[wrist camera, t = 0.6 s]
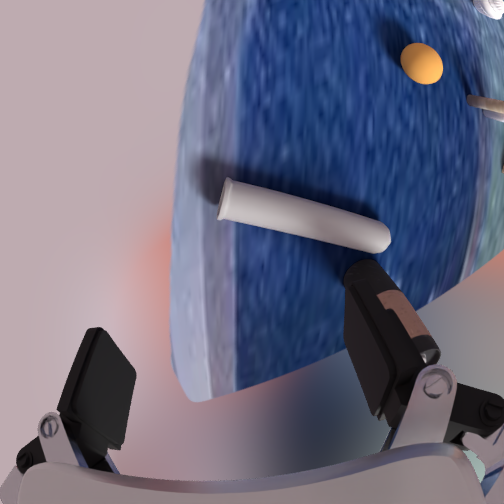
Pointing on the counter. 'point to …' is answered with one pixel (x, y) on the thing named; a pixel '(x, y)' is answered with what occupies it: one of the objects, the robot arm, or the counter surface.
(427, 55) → the ball
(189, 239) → the counter surface
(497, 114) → the white pin
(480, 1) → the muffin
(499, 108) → the birch pin
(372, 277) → the travel mug
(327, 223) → the tube
